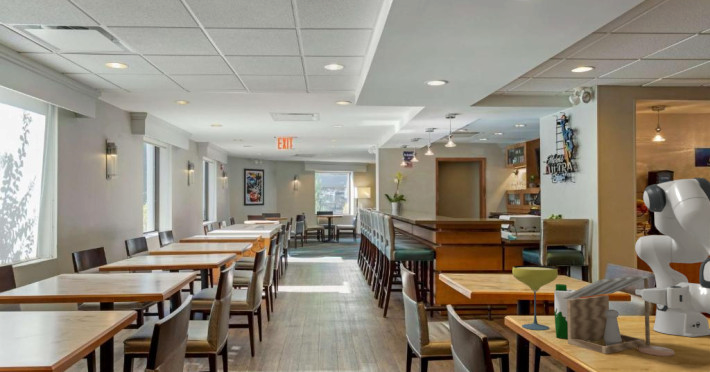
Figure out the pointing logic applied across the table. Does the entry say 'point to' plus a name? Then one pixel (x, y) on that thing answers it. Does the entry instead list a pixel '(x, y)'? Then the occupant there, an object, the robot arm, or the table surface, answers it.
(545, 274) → the cocktail glass
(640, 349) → the terracotta saucer
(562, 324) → the milk carton
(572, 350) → the table surface
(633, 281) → the cold frame
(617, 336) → the salt shaker
